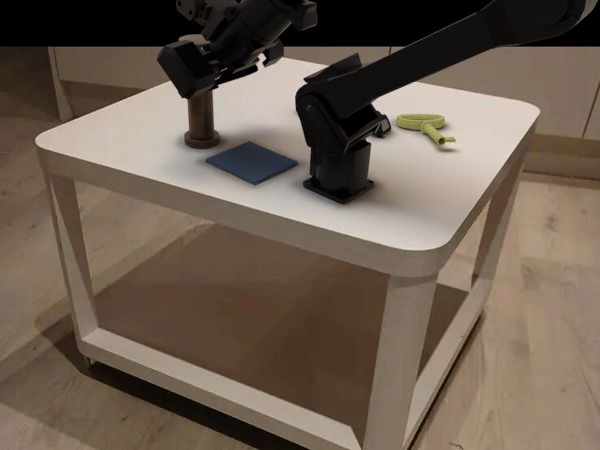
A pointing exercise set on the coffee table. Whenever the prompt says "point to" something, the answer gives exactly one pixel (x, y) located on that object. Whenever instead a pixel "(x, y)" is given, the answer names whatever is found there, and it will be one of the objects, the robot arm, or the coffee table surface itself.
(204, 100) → the shaving brush
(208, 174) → the coffee table surface
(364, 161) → the robot arm
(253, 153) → the napkin
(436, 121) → the key
